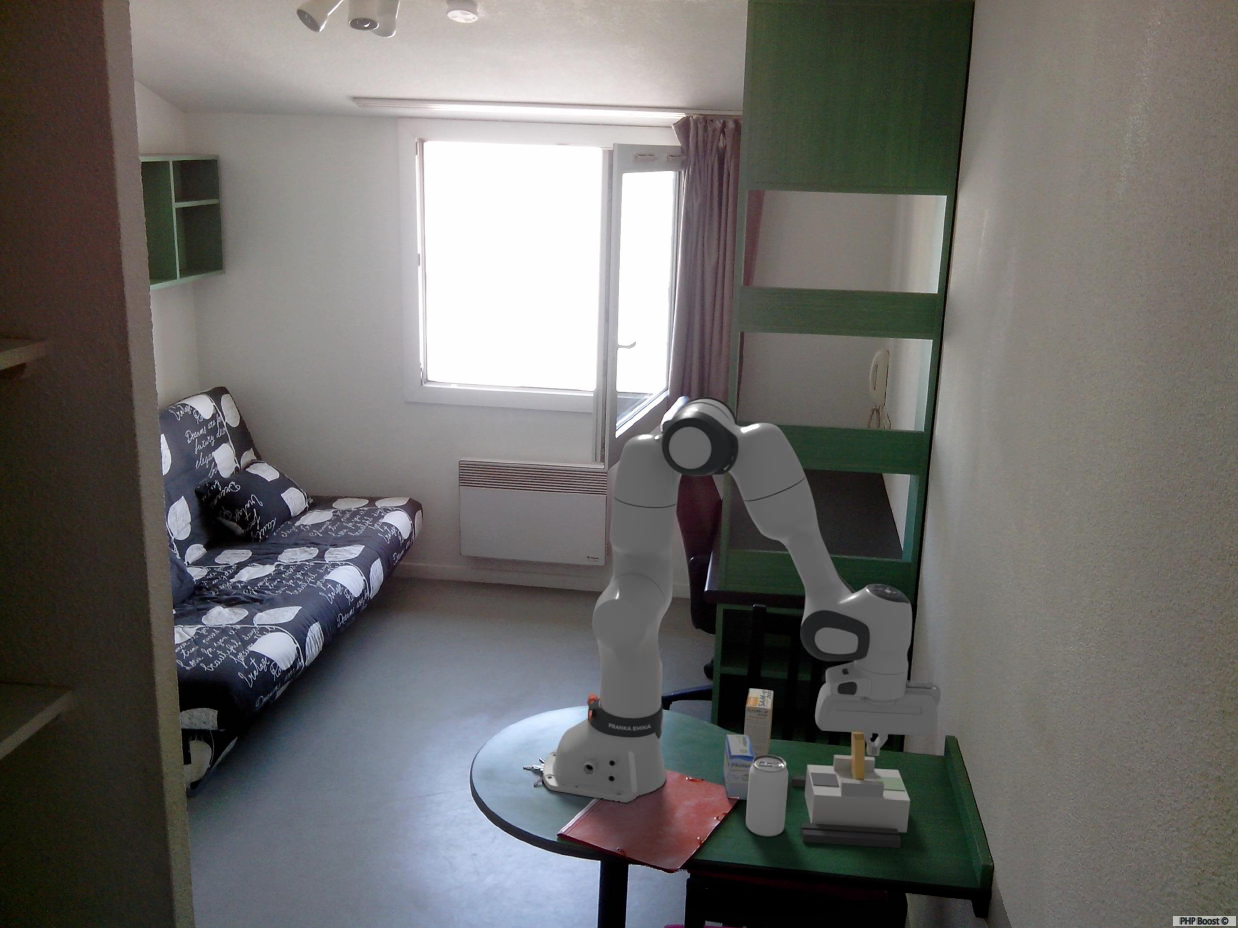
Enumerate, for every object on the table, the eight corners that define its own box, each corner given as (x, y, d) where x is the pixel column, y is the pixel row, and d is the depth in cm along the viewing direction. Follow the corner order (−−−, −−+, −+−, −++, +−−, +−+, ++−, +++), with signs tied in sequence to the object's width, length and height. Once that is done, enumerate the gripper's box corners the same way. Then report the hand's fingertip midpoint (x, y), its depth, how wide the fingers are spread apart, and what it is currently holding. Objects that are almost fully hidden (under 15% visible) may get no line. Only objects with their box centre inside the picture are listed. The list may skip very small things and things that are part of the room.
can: (783, 840, 174) (789, 774, 172) (744, 835, 175) (749, 770, 173) (784, 818, 181) (789, 755, 178) (746, 814, 182) (750, 751, 179)
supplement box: (766, 773, 195) (771, 709, 192) (740, 770, 196) (745, 705, 193) (769, 752, 203) (774, 689, 200) (744, 749, 204) (749, 686, 201)
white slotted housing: (811, 826, 179) (815, 781, 177) (804, 794, 188) (808, 752, 186) (906, 832, 178) (911, 787, 176) (894, 800, 188) (899, 757, 186)
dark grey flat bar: (802, 841, 174) (803, 834, 174) (800, 829, 177) (801, 822, 177) (900, 847, 173) (901, 840, 173) (896, 835, 177) (897, 828, 176)
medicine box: (722, 776, 194) (725, 733, 192) (746, 776, 194) (749, 734, 192) (727, 799, 186) (730, 755, 184) (752, 800, 186) (755, 755, 184)
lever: (855, 789, 179) (856, 742, 177) (850, 772, 184) (850, 726, 182) (865, 789, 179) (865, 742, 177) (859, 772, 184) (860, 726, 182)
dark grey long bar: (791, 785, 191) (792, 778, 191) (791, 781, 192) (791, 774, 192) (880, 791, 190) (881, 784, 190) (879, 787, 192) (879, 780, 191)
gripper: (937, 674, 180) (929, 747, 183) (817, 668, 181) (811, 741, 184) (946, 690, 174) (938, 766, 177) (822, 684, 175) (815, 759, 178)
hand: (872, 753), depth 180 cm, fingers closed
